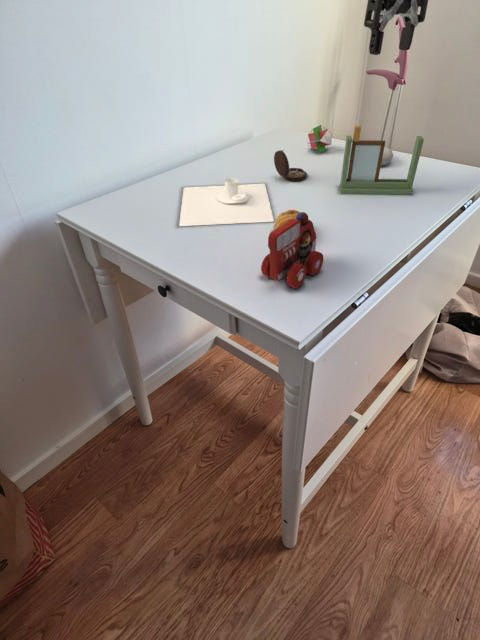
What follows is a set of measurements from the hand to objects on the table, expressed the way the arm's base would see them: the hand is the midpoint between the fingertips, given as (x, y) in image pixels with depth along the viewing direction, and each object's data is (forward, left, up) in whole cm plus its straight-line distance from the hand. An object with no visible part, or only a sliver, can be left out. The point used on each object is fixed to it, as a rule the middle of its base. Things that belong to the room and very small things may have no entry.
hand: (389, 52), depth 83 cm
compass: (+18, -6, -28) cm, 34 cm away
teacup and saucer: (+33, +10, -28) cm, 44 cm away
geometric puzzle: (+10, -25, -28) cm, 39 cm away
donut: (-4, -17, -28) cm, 33 cm away
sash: (+1, +2, -26) cm, 26 cm away
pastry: (+17, +24, -28) cm, 40 cm away
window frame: (-2, +2, -28) cm, 28 cm away
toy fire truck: (+17, +38, -28) cm, 50 cm away
